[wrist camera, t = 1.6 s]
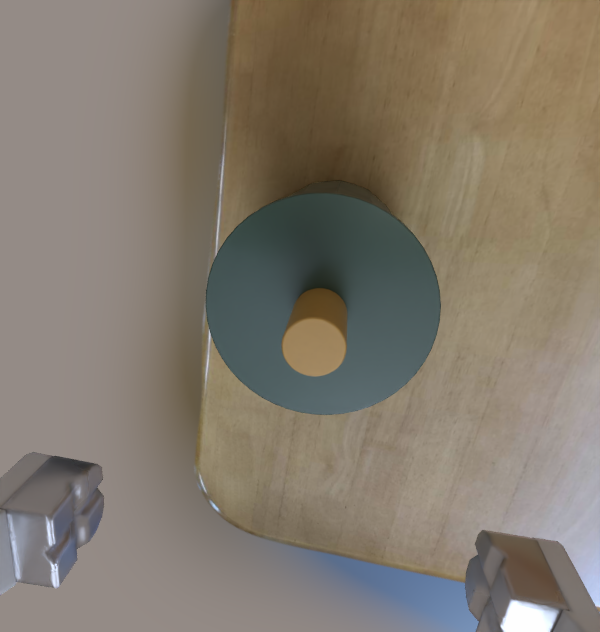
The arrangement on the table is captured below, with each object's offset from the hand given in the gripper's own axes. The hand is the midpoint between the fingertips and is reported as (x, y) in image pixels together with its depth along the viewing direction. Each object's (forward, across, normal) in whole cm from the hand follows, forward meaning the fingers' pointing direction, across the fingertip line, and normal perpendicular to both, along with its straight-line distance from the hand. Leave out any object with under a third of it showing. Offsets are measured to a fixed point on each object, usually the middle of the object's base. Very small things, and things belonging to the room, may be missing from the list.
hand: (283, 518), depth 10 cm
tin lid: (+14, 0, 0) cm, 14 cm away
